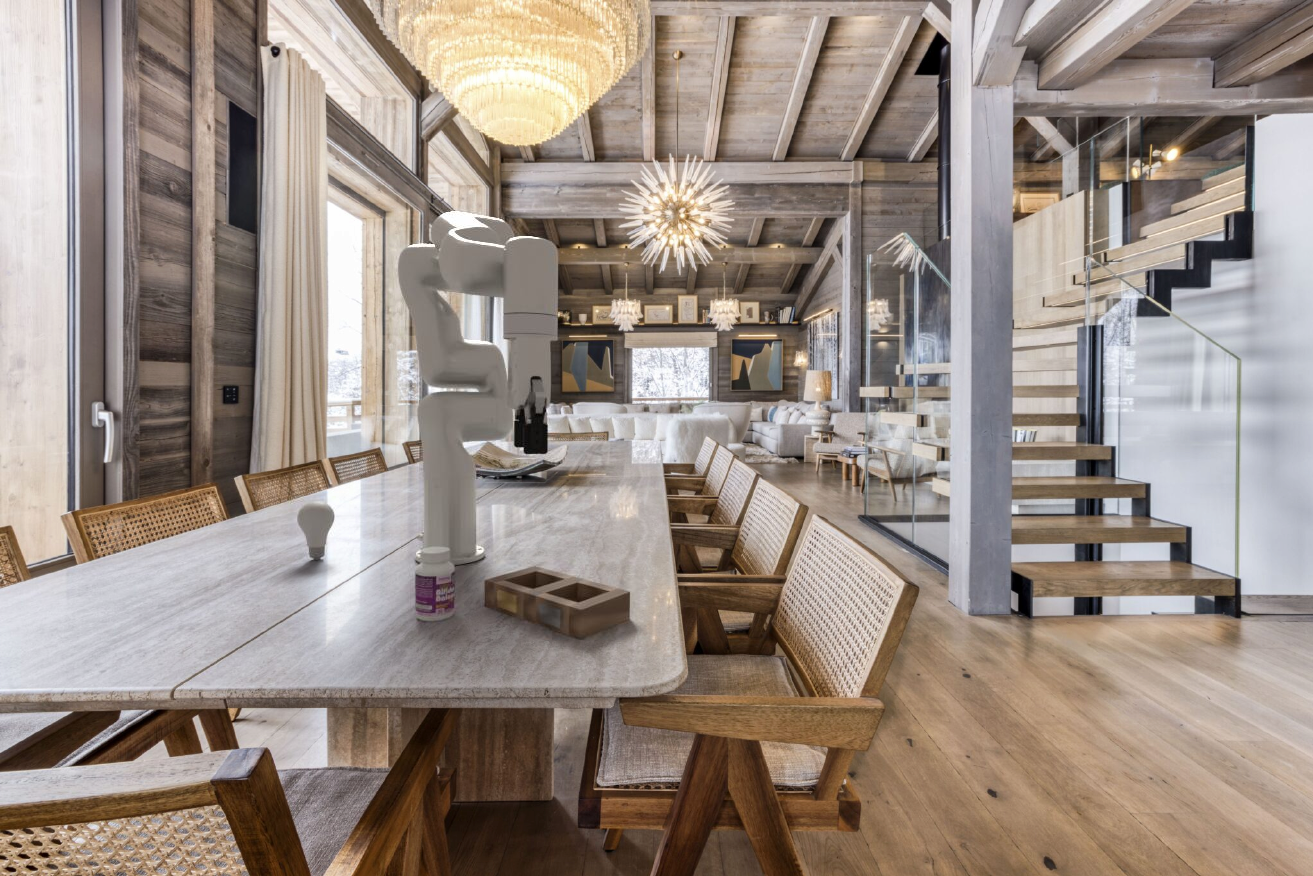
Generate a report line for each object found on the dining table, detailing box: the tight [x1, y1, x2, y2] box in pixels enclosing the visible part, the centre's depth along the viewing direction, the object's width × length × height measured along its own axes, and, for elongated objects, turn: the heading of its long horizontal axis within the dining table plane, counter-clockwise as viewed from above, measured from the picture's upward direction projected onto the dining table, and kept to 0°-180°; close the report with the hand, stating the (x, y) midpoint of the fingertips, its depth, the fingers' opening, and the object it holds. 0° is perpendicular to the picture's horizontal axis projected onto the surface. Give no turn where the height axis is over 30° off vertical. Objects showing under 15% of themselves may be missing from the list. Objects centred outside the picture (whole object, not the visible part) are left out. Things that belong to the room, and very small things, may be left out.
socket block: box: [483, 565, 631, 640], centre depth 95 cm, size 20×10×4 cm, turn 53°
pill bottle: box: [414, 547, 456, 622], centre depth 92 cm, size 5×5×10 cm
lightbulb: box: [297, 500, 335, 561], centre depth 120 cm, size 6×6×11 cm
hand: (530, 450), depth 92 cm, fingers open, 9 cm apart
